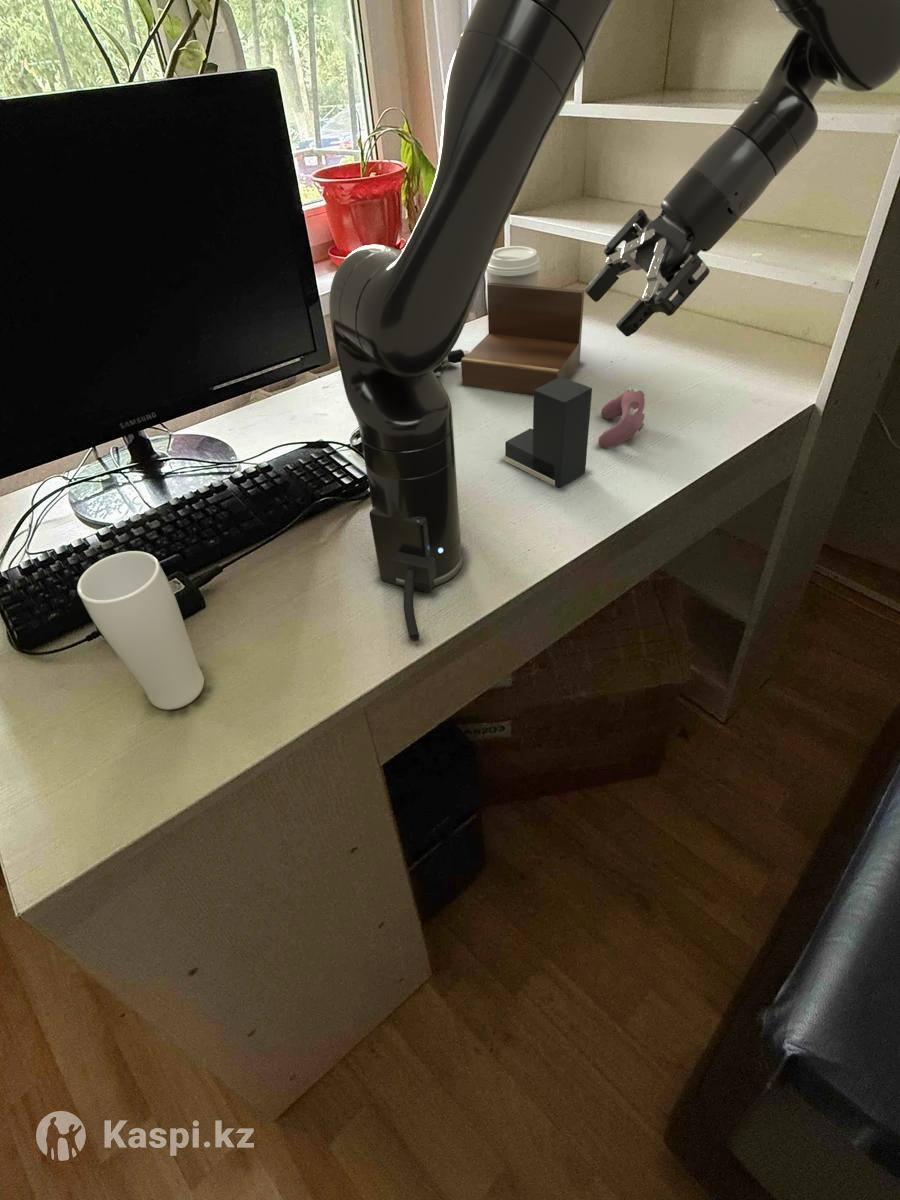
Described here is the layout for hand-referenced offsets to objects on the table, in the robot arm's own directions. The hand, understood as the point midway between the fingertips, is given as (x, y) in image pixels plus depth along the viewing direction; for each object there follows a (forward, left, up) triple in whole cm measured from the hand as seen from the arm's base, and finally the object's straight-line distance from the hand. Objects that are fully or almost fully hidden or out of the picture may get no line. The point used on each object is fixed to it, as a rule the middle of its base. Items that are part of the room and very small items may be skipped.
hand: (605, 313), depth 81 cm
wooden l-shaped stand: (+21, +18, -19) cm, 34 cm away
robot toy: (+16, +34, -19) cm, 42 cm away
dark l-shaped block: (-5, +5, -19) cm, 20 cm away
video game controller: (+7, -2, -19) cm, 21 cm away
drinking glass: (-55, +26, -19) cm, 64 cm away
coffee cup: (+33, +24, -19) cm, 45 cm away
